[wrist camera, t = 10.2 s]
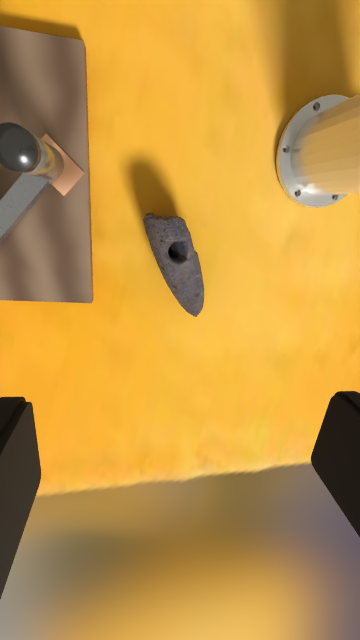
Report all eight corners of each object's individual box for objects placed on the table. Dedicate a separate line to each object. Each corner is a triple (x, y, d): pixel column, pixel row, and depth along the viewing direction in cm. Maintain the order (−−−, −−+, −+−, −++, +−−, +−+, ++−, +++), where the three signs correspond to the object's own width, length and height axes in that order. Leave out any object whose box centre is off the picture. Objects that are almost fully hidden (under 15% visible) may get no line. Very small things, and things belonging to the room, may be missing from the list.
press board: (85, 48, 30) (82, 38, 29) (93, 299, 41) (91, 303, 39) (-122, 12, 27) (-140, -1, 26) (-57, 294, 38) (-66, 298, 36)
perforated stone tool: (208, 302, 44) (220, 319, 37) (175, 314, 44) (182, 333, 37) (177, 200, 38) (185, 200, 31) (139, 214, 38) (140, 217, 31)
